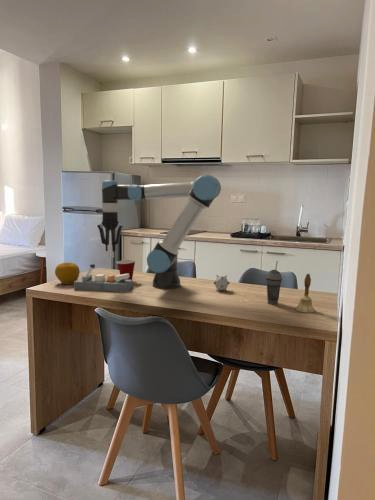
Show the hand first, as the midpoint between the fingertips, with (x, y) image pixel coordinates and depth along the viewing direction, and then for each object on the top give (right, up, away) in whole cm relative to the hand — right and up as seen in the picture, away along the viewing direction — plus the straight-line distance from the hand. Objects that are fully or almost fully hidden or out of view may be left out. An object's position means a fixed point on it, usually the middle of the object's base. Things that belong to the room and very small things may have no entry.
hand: (110, 257), depth 186 cm
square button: (-6, -13, +3) cm, 15 cm away
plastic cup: (+5, -14, +19) cm, 24 cm away
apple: (-26, -15, +12) cm, 32 cm away
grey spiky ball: (+57, -17, +2) cm, 60 cm away
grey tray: (-4, -16, +3) cm, 17 cm away
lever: (-13, -11, +3) cm, 17 cm away
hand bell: (+91, -22, -29) cm, 98 cm away
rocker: (+6, -10, +1) cm, 12 cm away
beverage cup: (+79, -21, -20) cm, 84 cm away
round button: (0, -14, +2) cm, 14 cm away
